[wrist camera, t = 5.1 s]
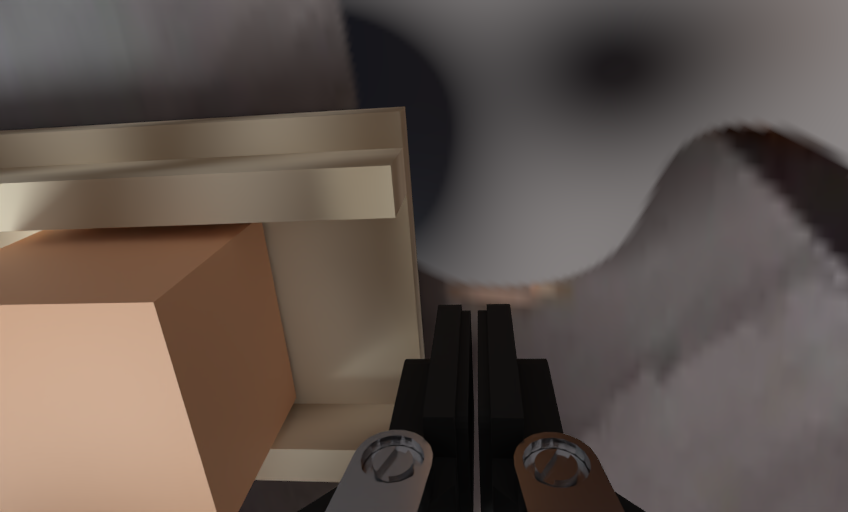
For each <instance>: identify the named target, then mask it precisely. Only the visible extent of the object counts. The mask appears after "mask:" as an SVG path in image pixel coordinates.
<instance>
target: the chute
mask: <svg viewBox="0 0 848 512" xmlns="http://www.w3.org/2000/svg"><path fill="white" fill-rule="evenodd" d="M233 223H262V226H263V231H264V236H265V241H266V246H267V251H268V256H269V261H270V266H271V271H272V276H273V281H274V286H275V291H276V296H277V301H278V306H279V312H280V317H281V322H282V327H283V332H284V337H285V342H286V347H287V352H288V357H289V362H290V367H291V372H292V377H293V382H294V387H295V392H296V399H295V401H294V403H293V405H292V407H291V409H290V411H289V413H288V415H287V417H286V419H285V421H284V423H283V425H282V427H281V429H280V431H279V433H278V435H277V437H276V439H275V441H274V443H273V445H272V447H271V449H270V451H269V453H268V455H267V457H266V459H265V461H264V463H263V464H262V466H261V468H260V470H259V472H258V474H257V476H256V478H255V480H272V481H313V482H340V481H341V479H342V477H343V475H344V473H345V471H346V469H347V467H348V465H349V463H350V461H351V459H352V457H353V455H354V453H355V451H356V450H357V448H358V447H359V446H360V444H361V443H363V442H364V441H365V440H366V439H368V438H369V437H371V436H373V435H375V434H378V433H380V432H384V431H389V427H390V422H391V418H392V414H393V409H394V405H395V400H396V396H397V391H398V387H399V383H400V378H401V374H402V369H403V365H404V361H405V360H406V359H425V353H424V341H423V328H422V315H421V303H420V290H419V278H418V265H417V252H416V241H415V227H414V214H413V203H412V190H411V177H410V164H409V151H408V138H407V126H406V113H405V107H390V108H373V109H355V110H339V111H322V112H305V113H288V114H272V115H255V116H238V117H222V118H205V119H188V120H171V121H155V122H138V123H121V124H104V125H88V126H71V127H54V128H37V129H21V130H4V131H0V248H3V247H5V246H7V245H10V244H12V243H14V242H16V241H19V240H21V239H23V238H26V237H28V236H30V235H33V234H35V233H37V232H39V231H42V230H62V229H90V228H119V227H147V226H176V225H205V224H233Z"/></svg>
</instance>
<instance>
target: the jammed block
mask: <svg viewBox="0 0 848 512" xmlns="http://www.w3.org/2000/svg"><path fill="white" fill-rule="evenodd" d="M295 399H296V392H295V387H294V382H293V377H292V372H291V367H290V362H289V357H288V352H287V347H286V342H285V337H284V332H283V327H282V322H281V317H280V312H279V306H278V301H277V296H276V291H275V286H274V281H273V276H272V271H271V266H270V261H269V256H268V251H267V246H266V241H265V236H264V231H263V226H262V223H233V224H205V225H176V226H147V227H119V228H90V229H62V230H42V231H39V232H37V233H35V234H33V235H30V236H28V237H26V238H23V239H21V240H19V241H16V242H14V243H12V244H10V245H7V246H5V247H3V248H0V512H239V510H240V508H241V506H242V504H243V502H244V500H245V498H246V496H247V494H248V492H249V490H250V488H251V486H252V484H253V482H254V480H255V478H256V476H257V474H258V472H259V470H260V468H261V466H262V464H263V463H264V461H265V459H266V457H267V455H268V453H269V451H270V449H271V447H272V445H273V443H274V441H275V439H276V437H277V435H278V433H279V431H280V429H281V427H282V425H283V423H284V421H285V419H286V417H287V415H288V413H289V411H290V409H291V407H292V405H293V403H294V401H295Z"/></svg>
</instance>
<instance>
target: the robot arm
mask: <svg viewBox="0 0 848 512" xmlns="http://www.w3.org/2000/svg"><path fill="white" fill-rule="evenodd" d="M478 428H479V461H480V494H481V512H645V511H644V510H642V509H641V508H639V507H637V506H636V505H634V504H633V503H631V502H630V501H628V500H627V499H625V498H624V497H622V496H621V495H619V494H618V493H616V492H615V491H614V489H613V487H612V485H611V483H610V481H609V479H608V477H607V475H606V473H605V471H604V469H603V467H602V465H601V463H600V461H599V459H598V457H597V456H596V454H595V453H594V452H593V450H592V449H591V448H590V447H589V446H588V445H586V444H585V443H584V442H583V441H581V440H579V439H577V438H575V437H573V436H571V435H567V434H563V430H562V425H561V421H560V416H559V412H558V407H557V403H556V398H555V394H554V389H553V384H552V380H551V375H550V371H549V366H548V362H547V360H546V359H517V357H516V349H515V341H514V333H513V325H512V317H511V309H510V304H487V310H479V311H478ZM473 491H474V395H473V366H472V336H471V311H462V305H439V306H438V312H437V319H436V326H435V333H434V340H433V346H432V353H431V359H406V360H405V361H404V365H403V369H402V374H401V378H400V383H399V387H398V391H397V396H396V400H395V405H394V409H393V414H392V418H391V422H390V427H389V431H384V432H380V433H378V434H375V435H373V436H371V437H369V438H368V439H366V440H365V441H364V442H363V443H361V444H360V446H359V447H358V448H357V450H356V451H355V453H354V455H353V457H352V459H351V461H350V463H349V465H348V467H347V469H346V471H345V473H344V475H343V477H342V479H341V481H340V483H339V485H338V487H336V488H335V489H333V490H331V491H330V492H328V493H327V494H325V495H323V496H322V497H320V498H319V499H317V500H315V501H314V502H312V503H311V504H309V505H308V506H306V507H304V508H303V509H301V510H300V511H298V512H473Z"/></svg>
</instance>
